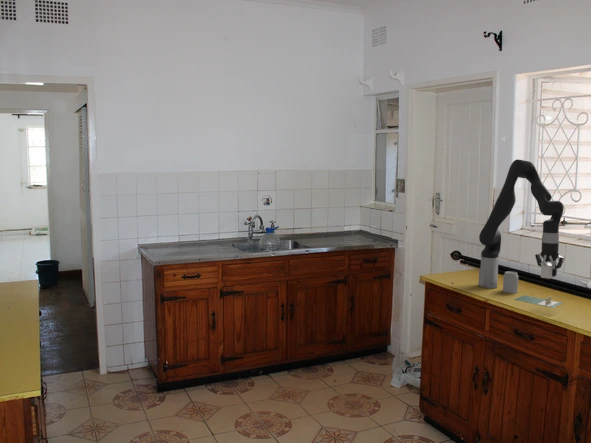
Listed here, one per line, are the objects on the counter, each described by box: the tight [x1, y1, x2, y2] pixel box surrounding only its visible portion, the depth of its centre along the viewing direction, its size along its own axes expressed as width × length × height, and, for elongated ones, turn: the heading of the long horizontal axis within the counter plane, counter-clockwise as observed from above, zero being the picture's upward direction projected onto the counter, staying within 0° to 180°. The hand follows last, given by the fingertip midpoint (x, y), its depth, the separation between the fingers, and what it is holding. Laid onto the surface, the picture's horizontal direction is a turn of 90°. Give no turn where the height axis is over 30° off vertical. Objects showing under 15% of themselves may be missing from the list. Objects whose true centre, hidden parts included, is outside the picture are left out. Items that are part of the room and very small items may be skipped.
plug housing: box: [540, 262, 558, 280], centre depth 274 cm, size 8×4×6 cm, turn 131°
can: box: [502, 270, 519, 294], centre depth 299 cm, size 8×8×12 cm
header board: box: [513, 294, 564, 309], centre depth 280 cm, size 20×12×4 cm, turn 42°
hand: (548, 275), depth 274 cm, fingers closed on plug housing, 4 cm apart
